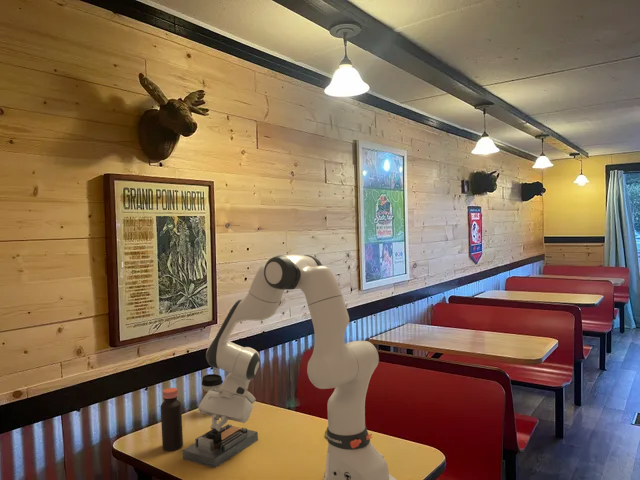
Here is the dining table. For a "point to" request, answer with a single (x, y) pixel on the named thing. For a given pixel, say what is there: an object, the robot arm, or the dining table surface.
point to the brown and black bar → (221, 435)
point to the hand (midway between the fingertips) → (214, 429)
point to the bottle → (171, 420)
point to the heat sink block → (219, 447)
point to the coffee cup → (211, 382)
